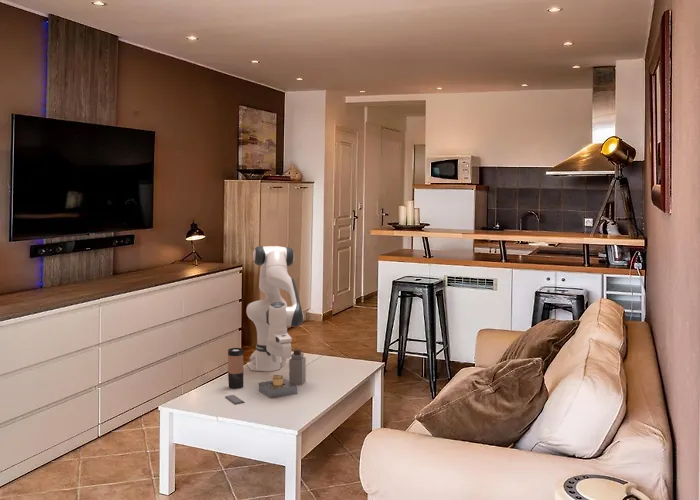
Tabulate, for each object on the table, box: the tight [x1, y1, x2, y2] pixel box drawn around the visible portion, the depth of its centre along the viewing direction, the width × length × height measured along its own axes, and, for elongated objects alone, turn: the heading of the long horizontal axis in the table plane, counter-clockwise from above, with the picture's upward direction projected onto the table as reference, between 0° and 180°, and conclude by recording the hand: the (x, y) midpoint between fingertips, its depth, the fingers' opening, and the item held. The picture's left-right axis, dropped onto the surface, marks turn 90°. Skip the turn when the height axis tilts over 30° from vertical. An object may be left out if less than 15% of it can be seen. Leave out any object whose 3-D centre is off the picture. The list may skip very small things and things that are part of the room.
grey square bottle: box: [288, 348, 307, 386], centre depth 343 cm, size 7×7×18 cm
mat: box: [224, 394, 246, 405], centre depth 319 cm, size 12×12×1 cm
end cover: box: [272, 374, 284, 386], centre depth 326 cm, size 5×5×8 cm
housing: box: [258, 378, 298, 399], centre depth 326 cm, size 14×14×5 cm
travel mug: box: [227, 347, 245, 390], centre depth 334 cm, size 8×8×20 cm
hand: (278, 364), depth 325 cm, fingers open, 8 cm apart
